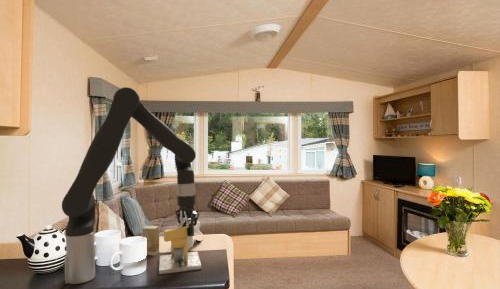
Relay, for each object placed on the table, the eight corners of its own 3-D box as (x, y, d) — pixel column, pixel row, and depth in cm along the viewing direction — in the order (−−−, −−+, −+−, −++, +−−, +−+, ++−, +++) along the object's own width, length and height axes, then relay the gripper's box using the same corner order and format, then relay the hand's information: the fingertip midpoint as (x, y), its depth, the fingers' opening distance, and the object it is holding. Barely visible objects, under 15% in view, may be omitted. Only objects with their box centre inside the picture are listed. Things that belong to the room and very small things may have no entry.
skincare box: (142, 255, 139) (141, 228, 139) (147, 251, 143) (146, 225, 143) (155, 255, 138) (154, 228, 138) (160, 252, 142) (159, 225, 142)
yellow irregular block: (168, 250, 122) (167, 232, 122) (162, 246, 127) (161, 229, 127) (196, 243, 129) (195, 226, 129) (189, 240, 134) (189, 223, 134)
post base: (159, 274, 118) (158, 249, 118) (160, 259, 134) (159, 237, 134) (201, 268, 122) (200, 245, 122) (197, 254, 138) (196, 233, 138)
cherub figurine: (165, 228, 144) (180, 213, 164) (167, 253, 146) (182, 236, 165) (192, 227, 142) (204, 213, 162) (194, 253, 144) (206, 235, 163)
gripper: (169, 193, 132) (170, 234, 132) (189, 196, 123) (190, 240, 123) (183, 191, 137) (184, 230, 138) (204, 194, 128) (205, 235, 128)
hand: (187, 234), depth 130 cm, fingers closed on yellow irregular block, 3 cm apart
